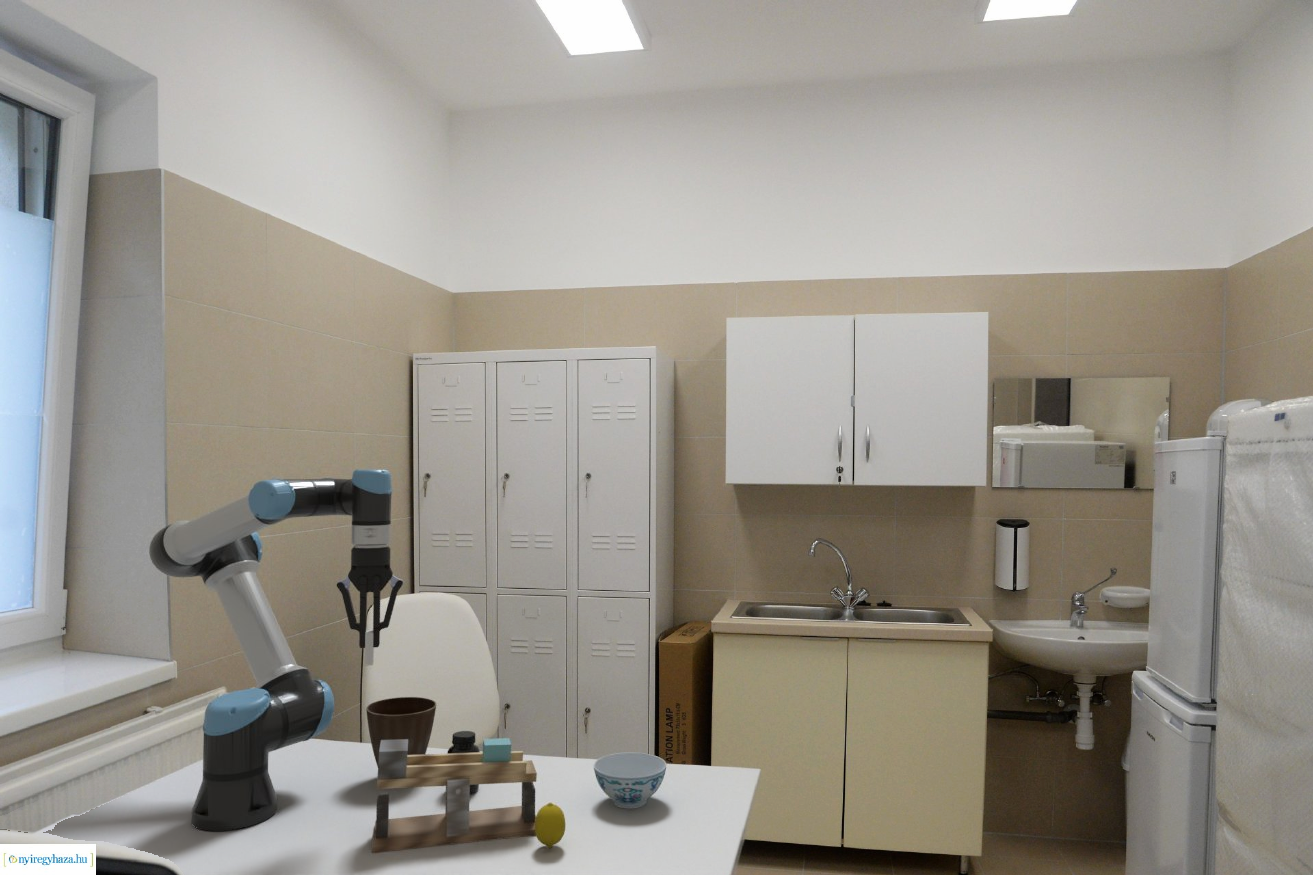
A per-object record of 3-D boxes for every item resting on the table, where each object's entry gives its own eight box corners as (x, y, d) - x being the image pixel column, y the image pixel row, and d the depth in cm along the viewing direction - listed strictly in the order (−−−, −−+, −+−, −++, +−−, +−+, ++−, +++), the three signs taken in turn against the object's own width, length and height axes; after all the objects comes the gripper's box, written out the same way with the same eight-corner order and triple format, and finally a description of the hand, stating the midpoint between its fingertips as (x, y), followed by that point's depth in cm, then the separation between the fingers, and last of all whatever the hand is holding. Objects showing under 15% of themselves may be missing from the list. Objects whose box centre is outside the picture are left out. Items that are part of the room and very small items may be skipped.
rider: (483, 771, 162) (484, 745, 163) (481, 764, 166) (483, 738, 167) (509, 770, 164) (511, 744, 164) (507, 763, 168) (509, 737, 168)
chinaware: (677, 795, 180) (677, 758, 181) (647, 821, 167) (647, 781, 167) (614, 784, 187) (614, 748, 187) (580, 808, 173) (580, 770, 173)
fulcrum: (371, 852, 153) (372, 790, 153) (375, 825, 165) (376, 767, 165) (540, 834, 161) (540, 774, 161) (532, 809, 172) (532, 754, 173)
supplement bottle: (471, 798, 178) (471, 739, 179) (440, 795, 180) (441, 737, 180) (484, 786, 185) (484, 729, 186) (454, 783, 187) (455, 727, 187)
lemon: (550, 838, 159) (550, 794, 160) (571, 846, 156) (571, 802, 156) (528, 848, 155) (528, 803, 155) (549, 857, 151) (549, 811, 152)
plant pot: (410, 761, 200) (411, 692, 201) (448, 777, 190) (449, 704, 191) (351, 779, 189) (353, 705, 190) (389, 796, 179) (390, 719, 180)
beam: (376, 788, 156) (379, 751, 156) (378, 774, 163) (380, 739, 163) (536, 781, 163) (538, 746, 164) (531, 768, 170) (533, 734, 171)
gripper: (334, 548, 167) (332, 669, 166) (404, 546, 171) (402, 666, 170) (338, 544, 175) (336, 661, 174) (405, 543, 178) (403, 658, 177)
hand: (369, 663), depth 172 cm, fingers closed
